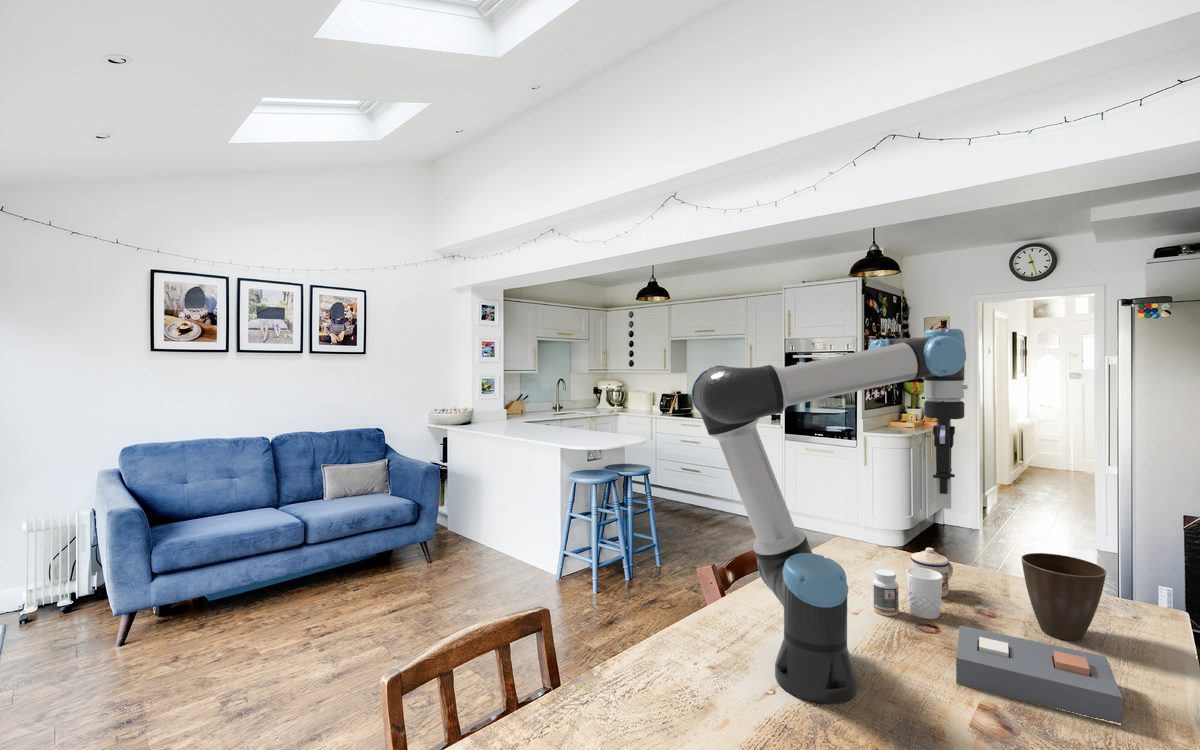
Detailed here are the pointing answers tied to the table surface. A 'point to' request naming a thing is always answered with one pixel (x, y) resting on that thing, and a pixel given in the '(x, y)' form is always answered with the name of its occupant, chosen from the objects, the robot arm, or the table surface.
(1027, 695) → the socket block
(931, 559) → the teacup with lid
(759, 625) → the table surface
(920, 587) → the white cup
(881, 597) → the pill bottle
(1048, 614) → the plant pot
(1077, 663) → the terracotta plug
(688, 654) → the table surface
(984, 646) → the ivory plug
